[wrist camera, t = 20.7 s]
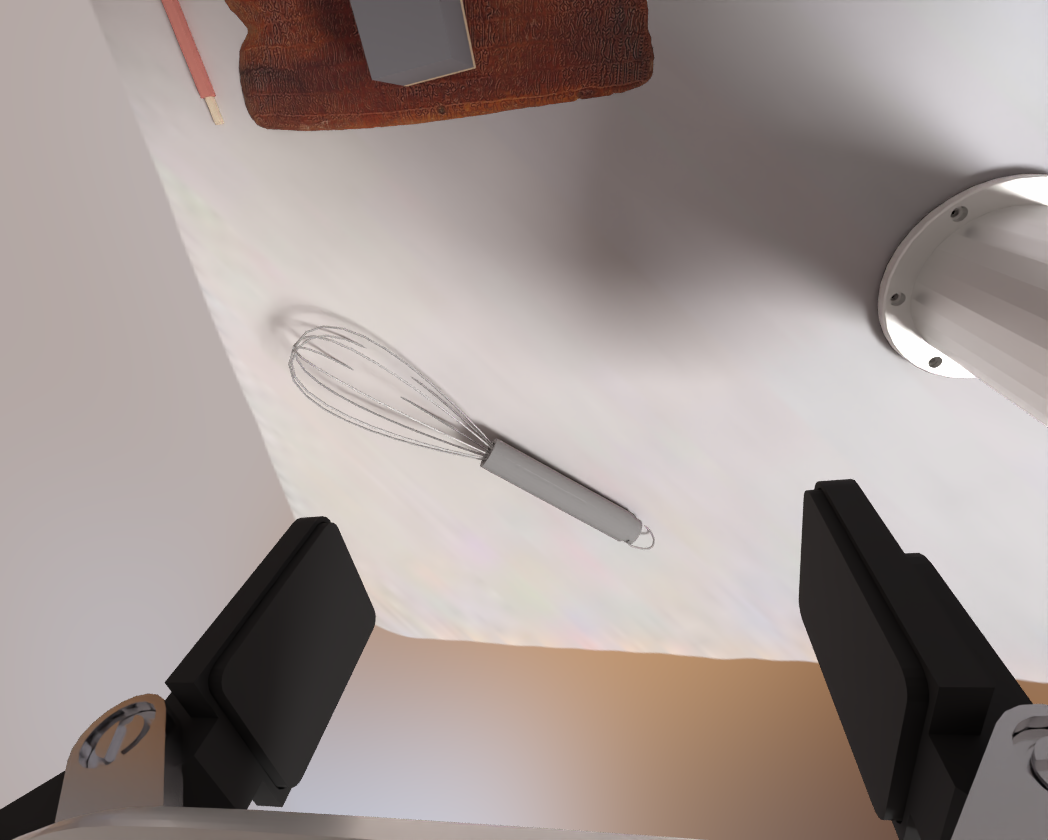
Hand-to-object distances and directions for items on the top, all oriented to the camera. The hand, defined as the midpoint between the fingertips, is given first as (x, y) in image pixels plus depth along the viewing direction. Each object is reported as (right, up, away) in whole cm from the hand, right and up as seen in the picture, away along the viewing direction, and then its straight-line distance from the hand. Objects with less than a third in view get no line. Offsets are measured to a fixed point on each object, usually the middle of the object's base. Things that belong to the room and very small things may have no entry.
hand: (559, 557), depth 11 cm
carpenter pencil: (-23, +29, +23) cm, 43 cm away
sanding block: (-7, +27, +20) cm, 34 cm away
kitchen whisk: (-4, +2, +35) cm, 35 cm away
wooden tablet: (-6, +27, +22) cm, 35 cm away
